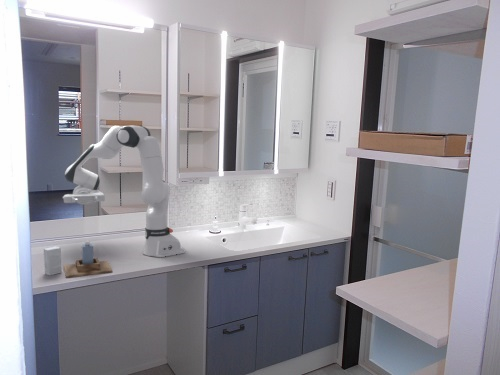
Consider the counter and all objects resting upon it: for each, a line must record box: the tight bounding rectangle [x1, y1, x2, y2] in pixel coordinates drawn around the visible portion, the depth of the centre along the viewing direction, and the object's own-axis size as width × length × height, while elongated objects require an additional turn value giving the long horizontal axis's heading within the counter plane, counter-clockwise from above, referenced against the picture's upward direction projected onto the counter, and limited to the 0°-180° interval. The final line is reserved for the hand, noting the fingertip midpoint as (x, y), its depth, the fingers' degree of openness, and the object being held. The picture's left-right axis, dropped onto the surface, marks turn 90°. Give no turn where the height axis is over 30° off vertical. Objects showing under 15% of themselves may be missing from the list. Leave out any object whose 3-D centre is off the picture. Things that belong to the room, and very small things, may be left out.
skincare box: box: [43, 245, 62, 277], centre depth 190 cm, size 6×4×12 cm
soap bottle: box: [81, 240, 94, 265], centre depth 196 cm, size 4×4×13 cm
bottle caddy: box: [63, 257, 113, 279], centre depth 197 cm, size 20×16×4 cm
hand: (85, 200), depth 213 cm, fingers open, 8 cm apart
